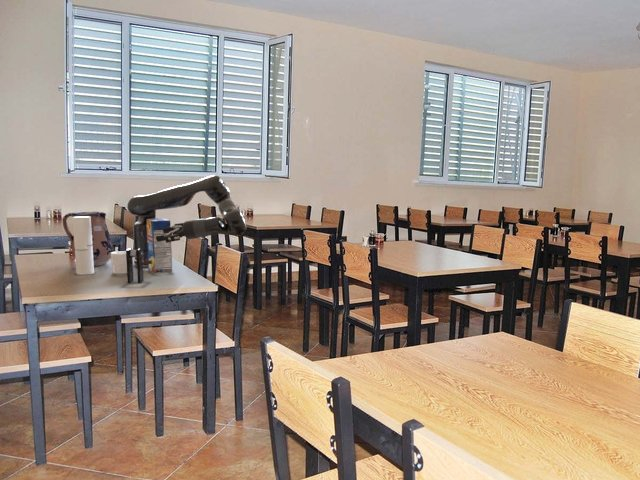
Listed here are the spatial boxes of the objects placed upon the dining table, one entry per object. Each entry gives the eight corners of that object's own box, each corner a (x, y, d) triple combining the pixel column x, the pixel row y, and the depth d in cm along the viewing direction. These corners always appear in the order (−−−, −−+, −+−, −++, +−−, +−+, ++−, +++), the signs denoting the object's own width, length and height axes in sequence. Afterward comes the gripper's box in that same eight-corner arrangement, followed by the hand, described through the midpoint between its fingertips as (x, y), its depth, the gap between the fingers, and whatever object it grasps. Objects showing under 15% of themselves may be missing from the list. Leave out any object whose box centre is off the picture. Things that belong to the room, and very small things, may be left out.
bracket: (129, 282, 269) (127, 247, 267) (149, 282, 270) (147, 247, 268) (121, 287, 260) (119, 251, 257) (142, 287, 260) (140, 251, 258)
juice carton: (148, 271, 295) (146, 218, 291) (165, 270, 299) (163, 218, 295) (155, 275, 286) (152, 221, 281) (172, 274, 290) (170, 220, 286)
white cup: (134, 273, 289) (133, 251, 287) (125, 277, 281) (124, 254, 279) (117, 273, 290) (116, 251, 288) (108, 276, 282) (106, 253, 280)
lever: (134, 265, 274) (135, 259, 275) (151, 265, 275) (152, 259, 275) (123, 255, 261) (124, 249, 261) (141, 255, 261) (142, 249, 262)
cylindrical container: (97, 272, 289) (94, 216, 285) (83, 275, 283) (79, 218, 279) (87, 271, 293) (83, 215, 289) (72, 273, 287) (68, 217, 282)
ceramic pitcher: (112, 267, 303) (109, 214, 299) (62, 269, 297) (58, 214, 292) (115, 261, 320) (112, 210, 315) (68, 263, 313) (64, 211, 309)
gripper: (195, 243, 263) (157, 250, 265) (204, 230, 276) (168, 236, 277) (189, 227, 260) (150, 233, 261) (199, 214, 273) (162, 220, 274)
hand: (160, 234), depth 269 cm, fingers open, 8 cm apart
